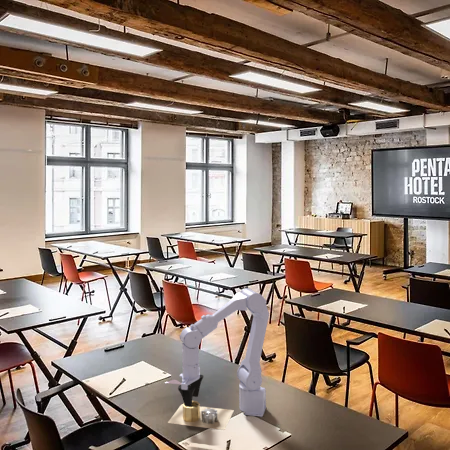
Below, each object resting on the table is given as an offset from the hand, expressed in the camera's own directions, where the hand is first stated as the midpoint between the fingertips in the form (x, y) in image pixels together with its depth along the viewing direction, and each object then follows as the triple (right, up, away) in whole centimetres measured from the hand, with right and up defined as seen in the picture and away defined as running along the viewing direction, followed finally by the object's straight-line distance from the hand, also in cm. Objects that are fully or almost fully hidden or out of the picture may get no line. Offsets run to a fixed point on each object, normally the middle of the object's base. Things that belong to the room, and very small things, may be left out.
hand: (191, 401), depth 166 cm
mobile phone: (-8, -5, +27) cm, 29 cm away
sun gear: (+6, -7, -1) cm, 10 cm away
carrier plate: (+3, -7, +2) cm, 8 cm away
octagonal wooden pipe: (0, -6, +1) cm, 6 cm away
